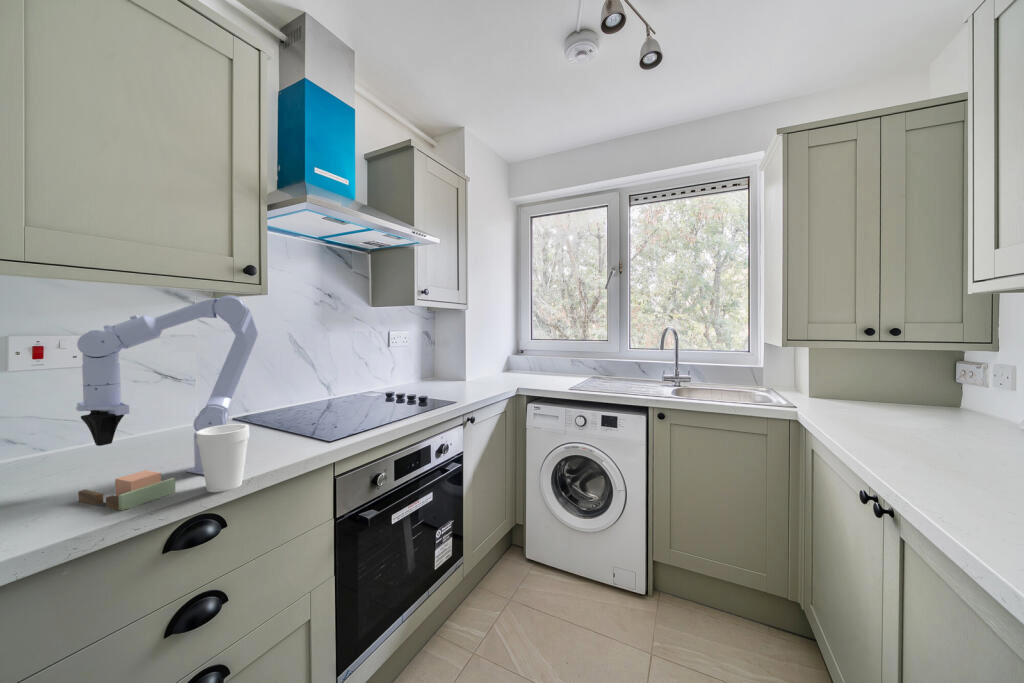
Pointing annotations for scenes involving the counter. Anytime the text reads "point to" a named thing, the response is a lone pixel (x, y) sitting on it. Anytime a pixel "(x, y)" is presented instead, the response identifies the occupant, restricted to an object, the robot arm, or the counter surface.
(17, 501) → the counter surface
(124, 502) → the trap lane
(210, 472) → the foam cup
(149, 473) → the terracotta block
